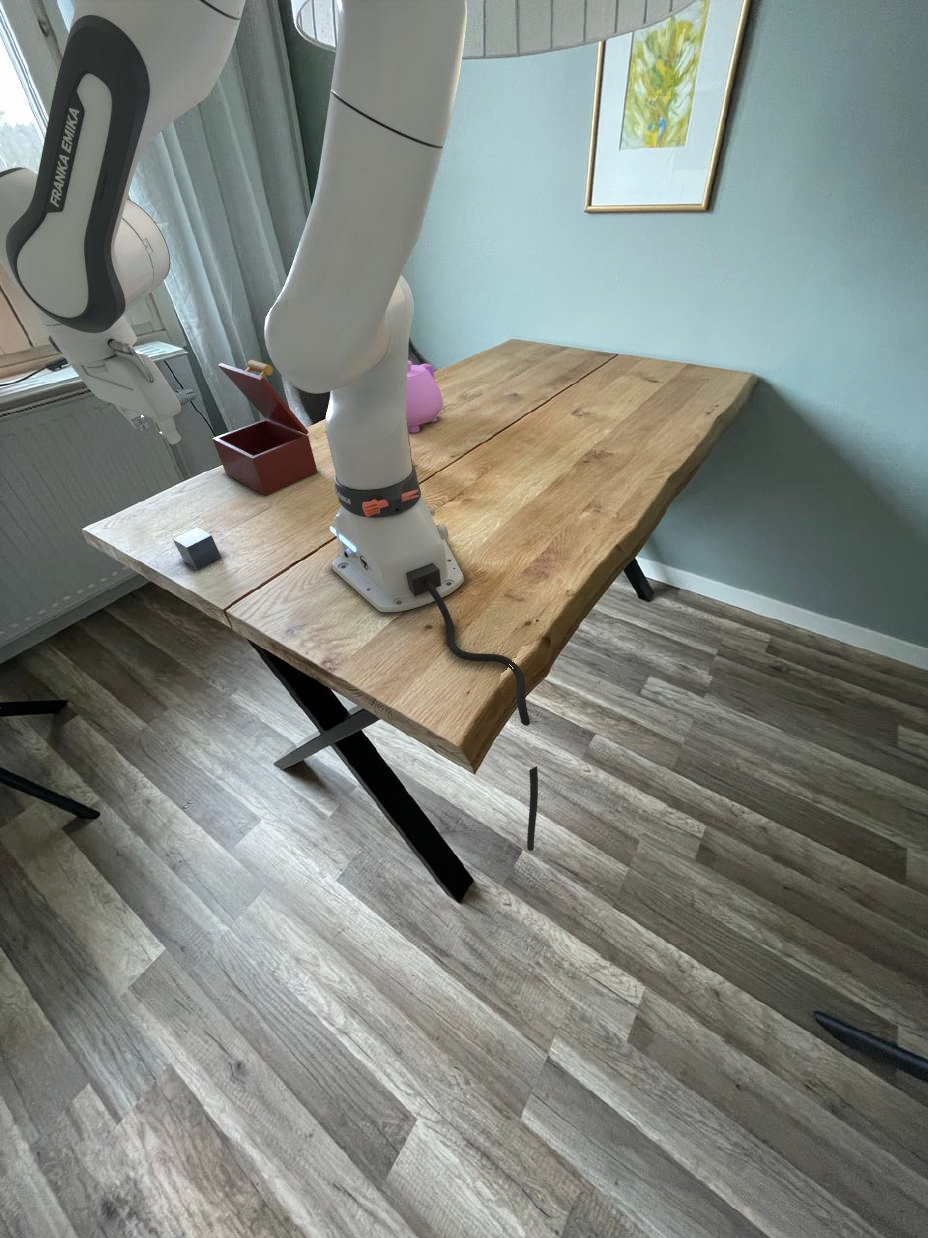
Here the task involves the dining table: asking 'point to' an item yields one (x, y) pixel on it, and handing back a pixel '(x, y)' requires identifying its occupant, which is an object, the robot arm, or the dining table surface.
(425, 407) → the pink piggy bank
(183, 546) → the block
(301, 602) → the dining table surface
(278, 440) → the red hinged box
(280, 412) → the cover
